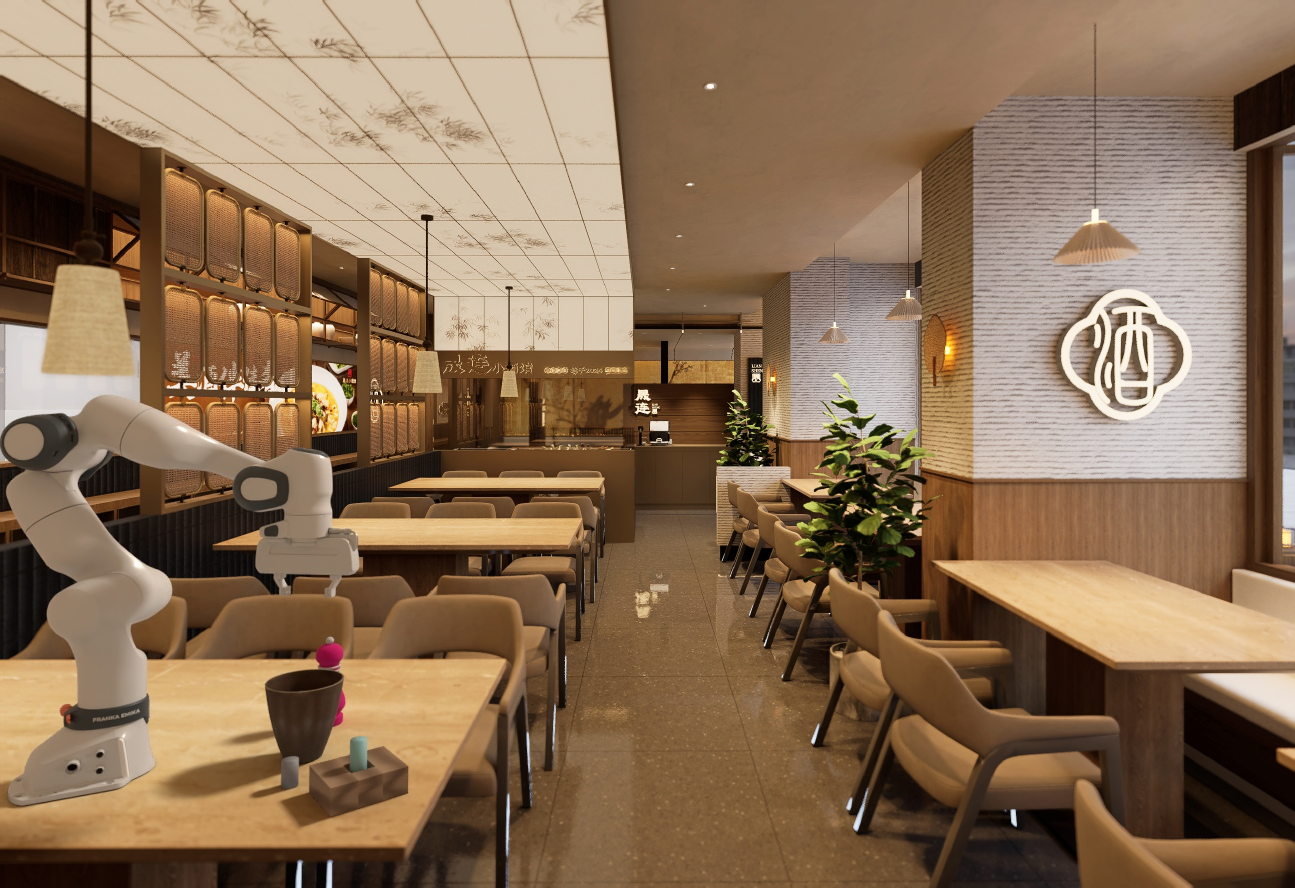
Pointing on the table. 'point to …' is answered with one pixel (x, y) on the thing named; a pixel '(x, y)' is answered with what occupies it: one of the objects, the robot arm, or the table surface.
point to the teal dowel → (358, 753)
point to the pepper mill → (332, 668)
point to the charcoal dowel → (289, 772)
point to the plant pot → (303, 710)
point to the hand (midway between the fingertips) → (307, 596)
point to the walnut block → (357, 781)
